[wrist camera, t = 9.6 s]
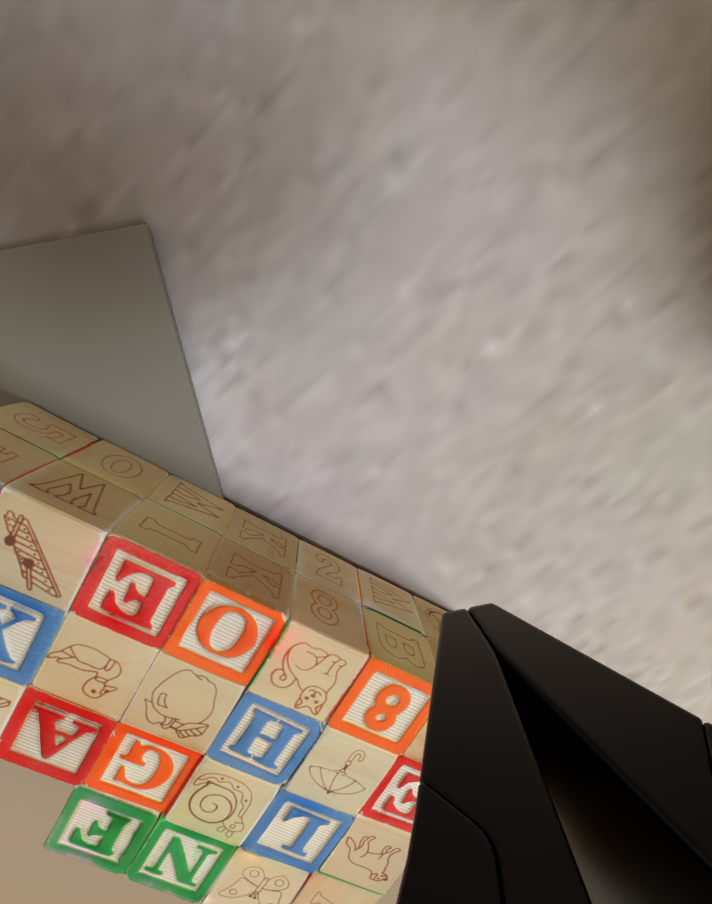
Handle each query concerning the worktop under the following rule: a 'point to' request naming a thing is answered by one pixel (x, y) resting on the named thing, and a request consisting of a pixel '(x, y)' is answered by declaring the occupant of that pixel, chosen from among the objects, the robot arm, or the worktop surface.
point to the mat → (103, 347)
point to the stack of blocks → (202, 681)
